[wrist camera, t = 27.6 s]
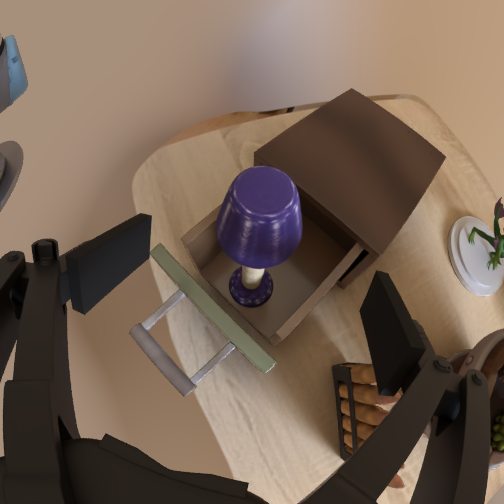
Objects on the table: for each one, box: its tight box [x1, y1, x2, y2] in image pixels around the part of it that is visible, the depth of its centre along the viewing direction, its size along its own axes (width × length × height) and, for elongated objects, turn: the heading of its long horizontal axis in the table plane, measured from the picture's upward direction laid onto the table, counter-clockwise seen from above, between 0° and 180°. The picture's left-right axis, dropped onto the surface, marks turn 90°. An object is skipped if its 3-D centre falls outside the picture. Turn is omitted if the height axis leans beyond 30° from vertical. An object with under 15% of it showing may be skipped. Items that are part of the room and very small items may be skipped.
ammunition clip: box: [332, 362, 405, 489], centre depth 19 cm, size 11×2×12 cm, turn 6°
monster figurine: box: [448, 197, 504, 297], centre depth 27 cm, size 12×12×10 cm
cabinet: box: [254, 89, 446, 289], centre depth 29 cm, size 17×14×10 cm
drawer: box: [129, 193, 364, 397], centre depth 25 cm, size 22×13×8 cm, turn 135°
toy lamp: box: [216, 166, 302, 308], centre depth 20 cm, size 5×5×17 cm
